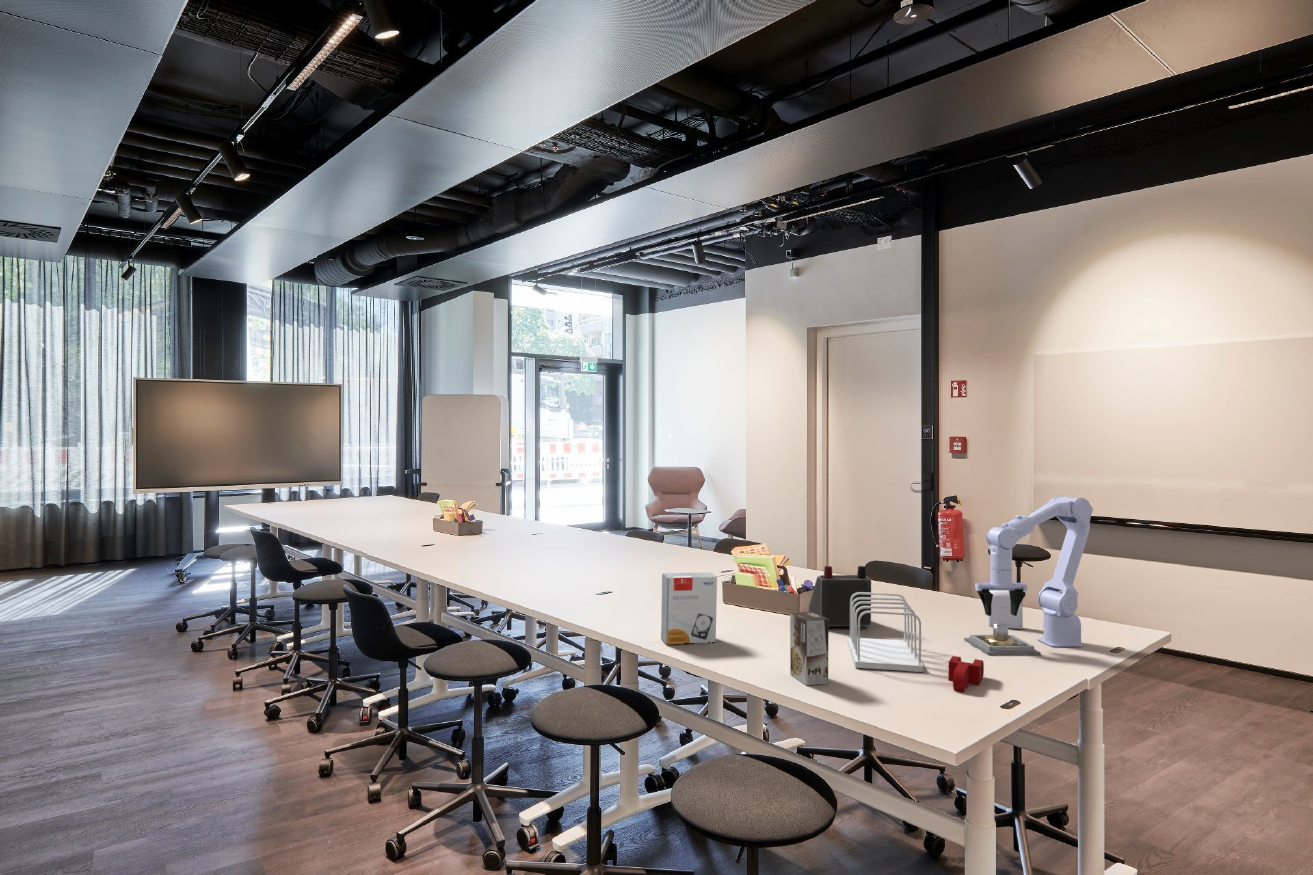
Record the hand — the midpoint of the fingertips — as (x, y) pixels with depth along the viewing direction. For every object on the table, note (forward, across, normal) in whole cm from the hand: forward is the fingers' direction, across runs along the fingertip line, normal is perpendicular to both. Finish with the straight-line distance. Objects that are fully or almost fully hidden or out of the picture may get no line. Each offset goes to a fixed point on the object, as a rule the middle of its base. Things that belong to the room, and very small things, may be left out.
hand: (1001, 615), depth 212 cm
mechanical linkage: (+10, +25, +31) cm, 41 cm away
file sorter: (+10, +38, +9) cm, 40 cm away
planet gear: (+9, 0, 0) cm, 9 cm away
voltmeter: (+10, +40, -28) cm, 50 cm away
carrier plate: (+9, 0, 0) cm, 9 cm away
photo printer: (+10, -13, -22) cm, 28 cm away
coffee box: (+10, +63, +27) cm, 70 cm away
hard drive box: (+10, +91, -8) cm, 92 cm away
